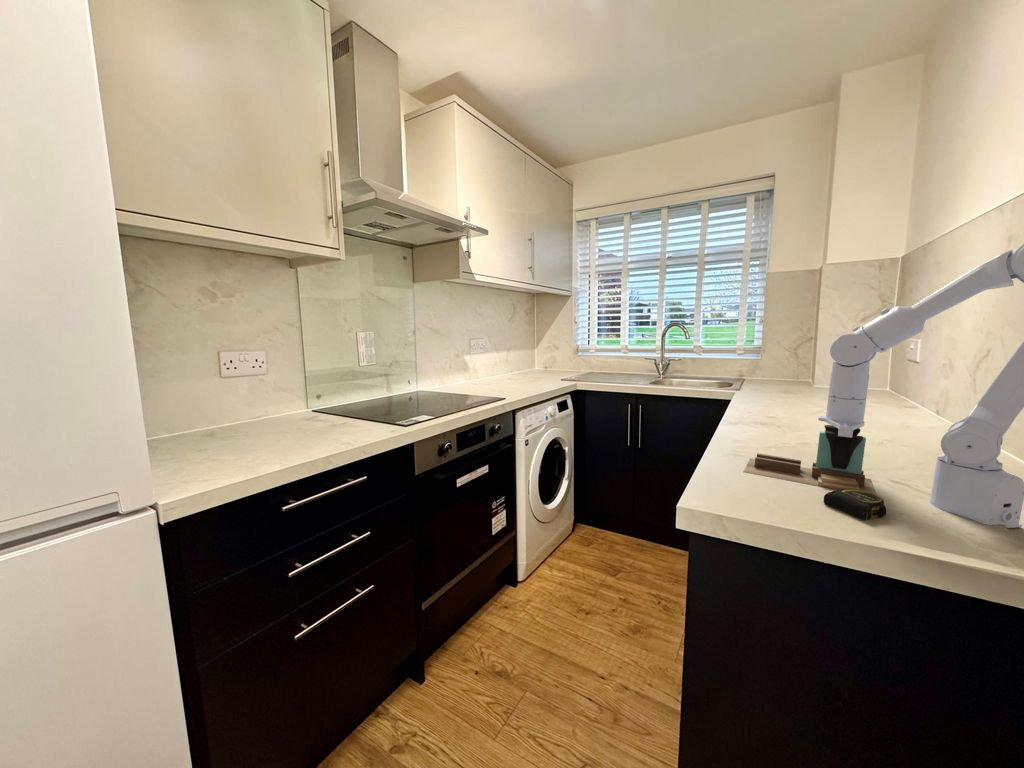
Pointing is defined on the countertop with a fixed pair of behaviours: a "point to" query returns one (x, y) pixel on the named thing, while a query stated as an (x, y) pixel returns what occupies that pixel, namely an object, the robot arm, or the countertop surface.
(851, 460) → the teal sheet
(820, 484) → the lower oak offcut
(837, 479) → the upper oak offcut
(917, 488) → the countertop surface
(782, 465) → the walnut rack
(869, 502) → the tape measure
